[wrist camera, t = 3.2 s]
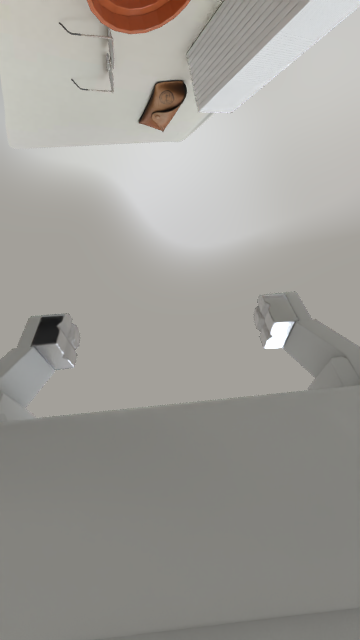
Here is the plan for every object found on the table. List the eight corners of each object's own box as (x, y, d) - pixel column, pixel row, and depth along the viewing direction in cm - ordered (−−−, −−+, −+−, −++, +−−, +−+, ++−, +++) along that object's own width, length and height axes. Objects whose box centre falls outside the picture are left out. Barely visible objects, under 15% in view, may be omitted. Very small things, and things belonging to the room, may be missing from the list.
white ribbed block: (222, 59, 58) (231, 112, 61) (186, 53, 54) (198, 112, 57) (393, -135, 31) (394, -22, 34) (350, -181, 27) (356, -45, 30)
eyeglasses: (109, 75, 54) (113, 97, 55) (70, 76, 52) (76, 99, 53) (108, 15, 40) (114, 45, 42) (56, 14, 39) (64, 46, 40)
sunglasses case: (154, 84, 60) (173, 111, 62) (173, 65, 60) (191, 92, 63) (137, 124, 76) (153, 144, 79) (152, 108, 77) (167, 128, 79)
